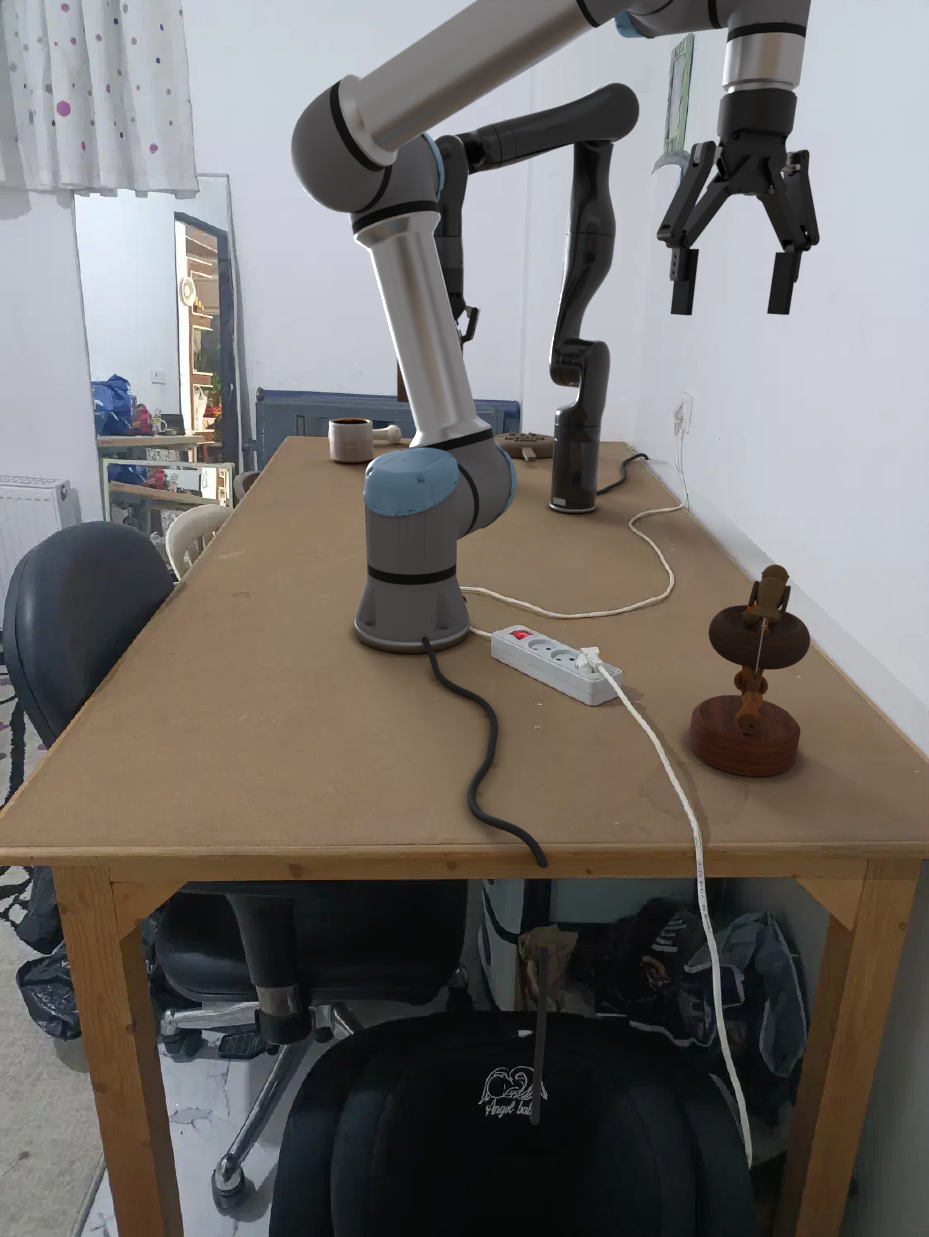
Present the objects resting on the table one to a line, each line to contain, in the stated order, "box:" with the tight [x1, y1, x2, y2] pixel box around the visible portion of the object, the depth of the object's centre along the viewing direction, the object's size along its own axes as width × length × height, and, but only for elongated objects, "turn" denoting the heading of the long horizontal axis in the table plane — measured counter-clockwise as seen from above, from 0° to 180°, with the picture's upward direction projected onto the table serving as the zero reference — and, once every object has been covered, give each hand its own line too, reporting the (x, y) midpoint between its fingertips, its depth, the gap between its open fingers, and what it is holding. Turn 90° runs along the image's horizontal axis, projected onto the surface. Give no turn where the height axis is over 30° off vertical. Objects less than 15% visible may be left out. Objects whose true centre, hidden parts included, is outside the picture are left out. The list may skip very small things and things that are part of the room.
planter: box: [328, 417, 375, 464], centre depth 212 cm, size 11×11×10 cm
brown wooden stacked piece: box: [688, 564, 811, 777], centre depth 83 cm, size 15×11×20 cm
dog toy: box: [327, 424, 402, 444], centre depth 234 cm, size 20×6×5 cm, turn 99°
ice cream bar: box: [493, 431, 554, 463], centre depth 221 cm, size 21×28×4 cm
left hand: (730, 315), depth 94 cm, fingers open, 13 cm apart
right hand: (442, 364), depth 156 cm, fingers closed on bar, 4 cm apart
